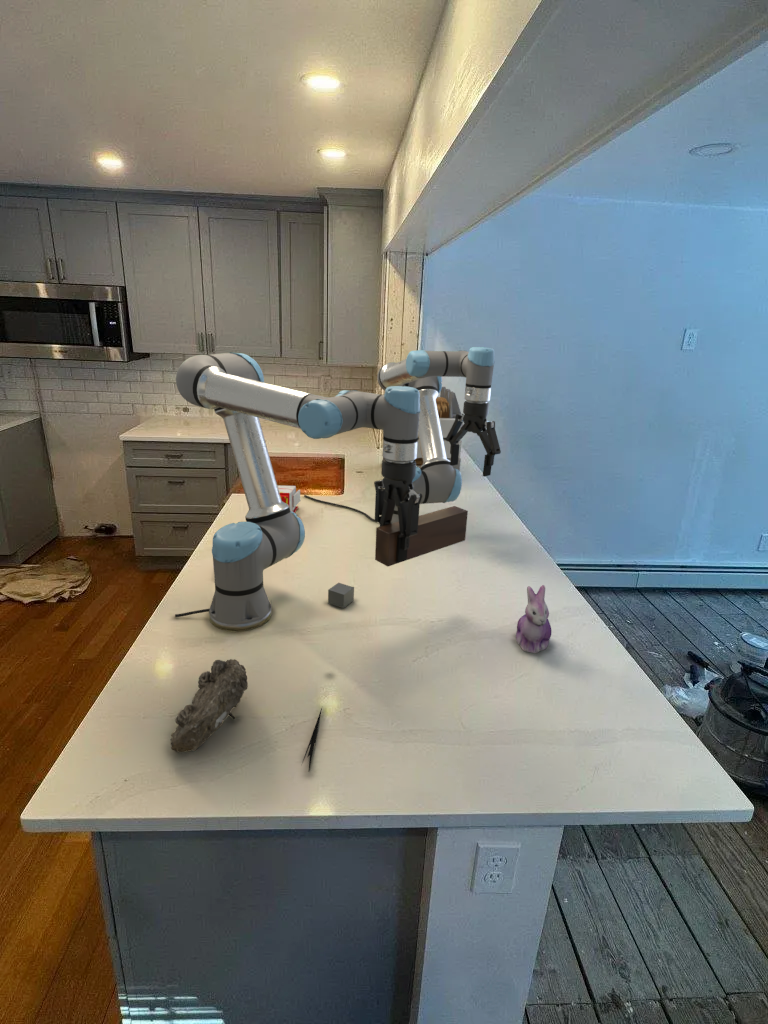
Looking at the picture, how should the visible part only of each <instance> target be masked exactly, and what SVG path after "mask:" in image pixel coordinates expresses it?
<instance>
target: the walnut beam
mask: <svg viewBox="0 0 768 1024" xmlns="http://www.w3.org/2000/svg"><path fill="white" fill-rule="evenodd" d="M468 512H469V511H468V510H466V509H464V508H461V507H459V506H456V505H453V506H450V507H445V508H442V509H438V510H435V511H431V512H427V513H425V514H421V515H420V514H419V520H418V533H417V534H416V535H413V536H410V543H409V549H408V550H407V560H406V561H409V560H412V559H415V558H418V557H420V556H423V555H426V554H429V553H433V552H436V551H438V550H441V549H444V548H447V547H450V546H453V545H456V544H458V543H461V542H462V543H463V542H465V541H466V535H467V525H468V516H469V515H468V514H469V513H468ZM375 531H376V532H375V552H374V553H375V555H374V561H377V562H379V564H382V565H384V566H385V567H392V566H394V565H397V564H398V563H397V562H396V552H397V536H398V535H399V534H400V528H399V522H395V523H392V524H388V525H384V526H381V527H379V526H378V527H376V528H375ZM405 531H406V530H405Z"/></svg>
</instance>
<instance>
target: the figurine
mask: <svg viewBox="0 0 768 1024" xmlns="http://www.w3.org/2000/svg"><path fill="white" fill-rule="evenodd" d="M526 594H527V604H526V606H525V610H524V614H523V615H522V616H521V617H520V618H518V621H517V623H516V624H517V625H516V632H515V634H516V635H515V641H516V643H517V645H519V646H520V648H521V650H522V651H524V652H526V653H531V654H533V653H534V654H537V653H539V652H540V651H545V650H546V649H547V648H548V646H549V644H550V639H551V637H552V626H551V623H550V620H549V617H550V611H549V607H548V605H547V603H546V600H545V597H546V596H545V595H546V586H545V585H544V584H542V585H540V586H539V588H538V591H537V592H536V593H535V591H534V589H533V588H532V587H531V586H530V585H528V586H527V587H526Z"/></svg>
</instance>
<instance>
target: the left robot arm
mask: <svg viewBox="0 0 768 1024" xmlns="http://www.w3.org/2000/svg"><path fill="white" fill-rule="evenodd" d="M175 385H176V387H177V391H178V393H179V394H180V396H181V397H182V398H183V399H184V400H185V401H186V402H188V403H189V404H191V405H194V406H197V407H199V408H204V409H207V410H213V411H214V413H215V415H217V416H219V417H220V418H221V419H223V423H224V427H225V431H226V433H227V437H228V440H229V444H230V447H231V451H232V454H233V458H234V462H235V465H236V468H237V471H238V475H239V479H240V483H241V485H242V489H243V492H244V496H245V500H246V502H247V507H248V510H247V513H246V514H245V517H244V518H245V521H238V522H232V523H228V524H226V525H224V526H222V527H219V528H218V530H216V531H215V533H213V534H214V535H213V536H212V547H211V554H212V565H213V577H214V578H213V579H214V593H213V596H212V600H211V603H210V607H208V608H204V609H198V610H193V611H186V612H182V613H176V614H174V618H181V617H186V616H191V615H196V614H202V613H203V614H204V613H207V612H208V619H209V621H210V623H211V625H212V626H214V627H215V628H217V629H220V630H223V631H226V632H227V631H229V632H243V631H245V632H246V631H249V630H253V629H256V628H259V627H261V626H263V625H264V624H266V623H267V622H268V621H269V620H270V619H271V617H272V615H273V614H272V599H271V601H270V599H269V596H268V594H267V592H266V589H265V586H264V570H266V569H268V568H270V567H272V566H274V565H276V564H277V563H279V562H281V561H283V560H285V559H288V558H290V557H291V556H293V555H294V554H295V553H296V552H298V551H299V550H300V549H301V548H302V547H303V544H304V542H305V538H306V529H305V526H304V525H305V524H304V522H303V521H302V519H301V517H299V516H298V514H297V513H296V512H295V513H294V512H292V511H290V508H289V505H288V504H286V503H284V502H283V501H282V500H281V497H280V493H279V490H278V486H277V485H278V483H277V478H276V476H275V472H274V468H273V464H272V460H271V457H270V454H269V450H268V446H267V443H266V439H265V435H264V432H263V427H262V425H261V421H260V419H262V420H266V421H269V422H274V423H278V424H281V425H285V426H288V427H292V428H296V429H300V430H301V431H302V433H304V434H305V436H307V437H308V438H310V439H313V440H320V439H329V438H332V437H334V436H336V435H340V434H344V433H346V432H350V431H353V430H357V429H360V428H365V429H374V430H379V431H382V451H381V452H382V453H381V454H382V455H381V456H382V461H381V473H380V474H381V477H382V479H378V480H374V483H373V485H374V489H375V497H374V499H375V500H374V502H375V503H374V519H375V523H378V524H379V526H380V527H381V526H384V525H388V524H392V522H391V521H392V517H393V512H394V508H395V505H396V507H397V508H398V518H399V528H400V534H399V535H398V536H397V552H396V562H397V564H400V563H403V562H406V561H408V560H407V550H408V549H409V543H410V536H413V535H416V534H417V533H418V520H419V516H420V505H421V504H420V502H421V499H422V494H421V493H418V494H417V493H416V492H415V491H414V490H413V484H412V481H413V479H414V477H415V475H416V467H417V466H416V462H415V459H416V458H417V443H418V426H419V415H420V393H419V391H418V390H417V389H416V388H413V387H406V386H404V387H403V386H390V387H387V388H386V390H385V391H384V393H383V394H381V393H380V394H379V393H372V392H366V391H365V392H364V391H359V390H357V389H356V390H355V389H353V390H347V389H342V390H340V391H339V392H337V394H336V395H335V396H330V397H328V396H322V395H318V394H314V393H310V392H306V391H302V390H298V389H293V388H289V387H285V386H281V385H276V384H272V383H267V382H265V377H264V373H263V370H262V368H261V367H260V365H259V363H258V362H257V361H256V360H255V359H254V358H253V357H251V356H250V355H248V354H246V353H241V352H231V351H230V352H223V353H211V354H196V355H193V356H190V357H188V358H187V359H185V360H184V361H183V362H182V363H181V364H180V366H179V367H178V368H177V371H176V375H175ZM383 458H384V459H383ZM403 501H404V502H403ZM405 530H406V531H405Z"/></svg>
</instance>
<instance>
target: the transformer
mask: <svg viewBox="0 0 768 1024" xmlns="http://www.w3.org/2000/svg"><path fill="white" fill-rule="evenodd" d="M436 406H437V411H438V416H439V421H440V426H441V431H442V437H443V442H444V447H445V452H446V457H447V459H448V460H449V461H451V454H450V446H451V444H450V442H448V441H446V438H447V436H448V434H449V432H450V430H451V427H452V425H453V423H454V421H455V417H456V414H462V411H461V408H460V405H459V402H458V398H457V395H456V392H454V391H451V389H450V388H446V386H442V388H441V391H440V393H439V396H438V397H437V399H436ZM463 425H464V422H462V425H461V426H460V428H461V427H462V426H463ZM460 428H459V430H460ZM459 430H458V432H459ZM458 432H457V433H458ZM462 443H463V442H462V439H461V440H460V441H459V442H458V444H459V445H460V446H459V456H458V465H453V469H458V470H459V472H460V473H461V471H460V470H461V462H462V458H461V452H462ZM383 459H384V458H383V457H382V460H383ZM415 462H416V467H421V466H422V465H423V459H422V454H421V448H420V443H419V437H418V443H417V458H416V459H415Z"/></svg>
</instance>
